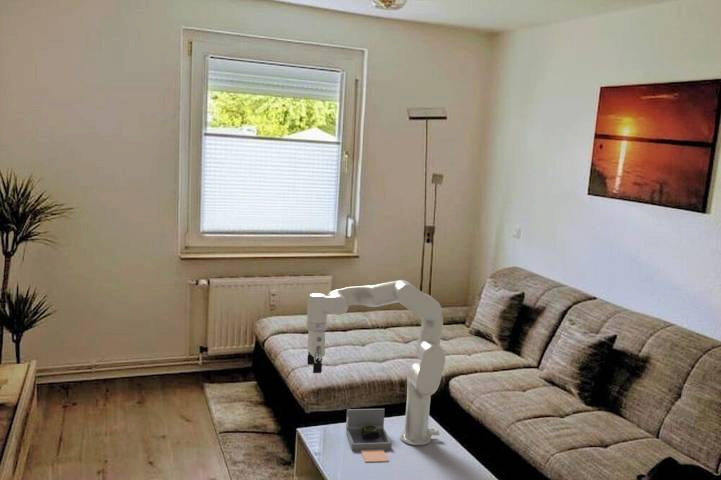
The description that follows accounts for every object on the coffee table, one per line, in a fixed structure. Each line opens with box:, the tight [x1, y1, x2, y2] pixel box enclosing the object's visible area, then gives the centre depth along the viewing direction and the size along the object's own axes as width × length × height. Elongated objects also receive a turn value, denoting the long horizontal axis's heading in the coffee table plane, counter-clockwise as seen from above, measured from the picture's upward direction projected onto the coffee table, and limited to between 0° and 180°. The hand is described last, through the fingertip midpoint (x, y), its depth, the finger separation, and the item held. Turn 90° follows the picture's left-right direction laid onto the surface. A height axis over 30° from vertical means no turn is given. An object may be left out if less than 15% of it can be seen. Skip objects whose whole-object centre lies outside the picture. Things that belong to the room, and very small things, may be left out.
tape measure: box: [361, 425, 381, 441], centre depth 246 cm, size 7×7×4 cm
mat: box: [360, 449, 390, 463], centre depth 232 cm, size 9×9×1 cm
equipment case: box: [345, 408, 392, 451], centre depth 244 cm, size 16×15×10 cm
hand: (314, 368), depth 237 cm, fingers open, 9 cm apart
